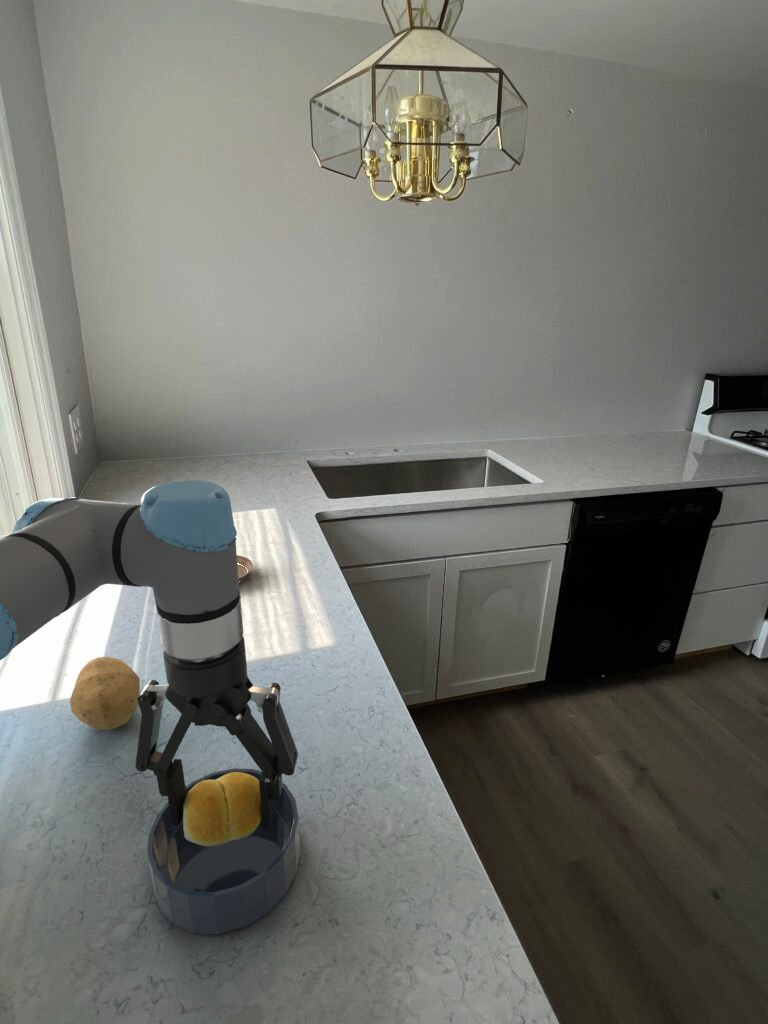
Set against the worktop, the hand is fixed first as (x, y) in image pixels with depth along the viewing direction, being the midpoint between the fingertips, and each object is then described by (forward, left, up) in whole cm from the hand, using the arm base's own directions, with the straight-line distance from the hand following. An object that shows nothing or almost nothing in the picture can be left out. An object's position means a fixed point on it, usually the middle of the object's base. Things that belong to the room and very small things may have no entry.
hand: (224, 815), depth 61 cm
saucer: (-22, +70, -8) cm, 74 cm away
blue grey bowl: (0, 0, -7) cm, 7 cm away
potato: (-25, +23, -8) cm, 35 cm away
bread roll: (0, 0, 0) cm, 0 cm away
